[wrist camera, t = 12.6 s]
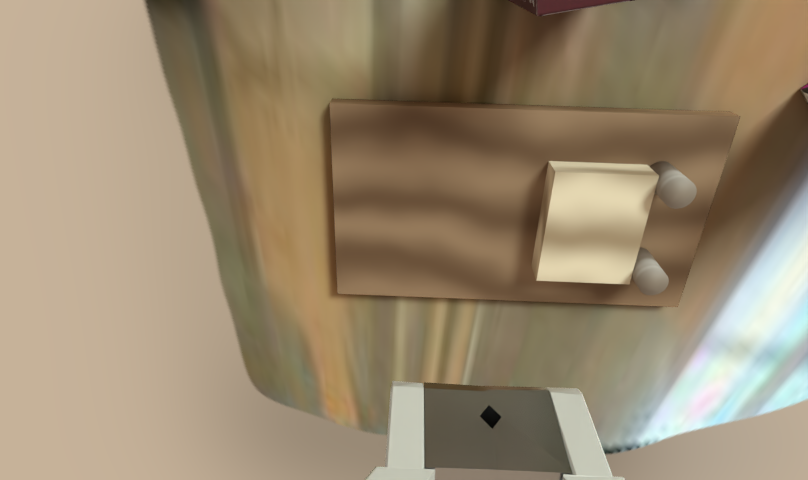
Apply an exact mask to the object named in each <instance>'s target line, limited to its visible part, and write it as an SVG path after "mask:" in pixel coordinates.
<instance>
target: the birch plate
mask: <svg viewBox="0 0 808 480" xmlns="http://www.w3.org/2000/svg"><path fill="white" fill-rule="evenodd" d="M658 178H659V175H658V174H657V173H656V172H654V171H653V170H652V169H651V168H650V167H649V166H648V165H643V164H616V163H589V162H563V161H549V162H548V168H547V174H546V180H545V186H544V192H543V198H542V204H541V210H540V216H539V222H538V228H537V234H536V240H535V247H534V253H533V259H532V265H531V266H532V269H533V272H534V275H535V278H536V281H557V282H581V283H605V284H630V281H631V277H632V273H633V270H634V266H635V262H636V259H637V255H638V251H639V248H640V244H641V240H642V237H643V233H644V229H645V226H646V222H647V219H648V215H649V211H650V208H651V204H652V200H653V197H654V193H655V189H656V186H657V182H658Z"/></svg>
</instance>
